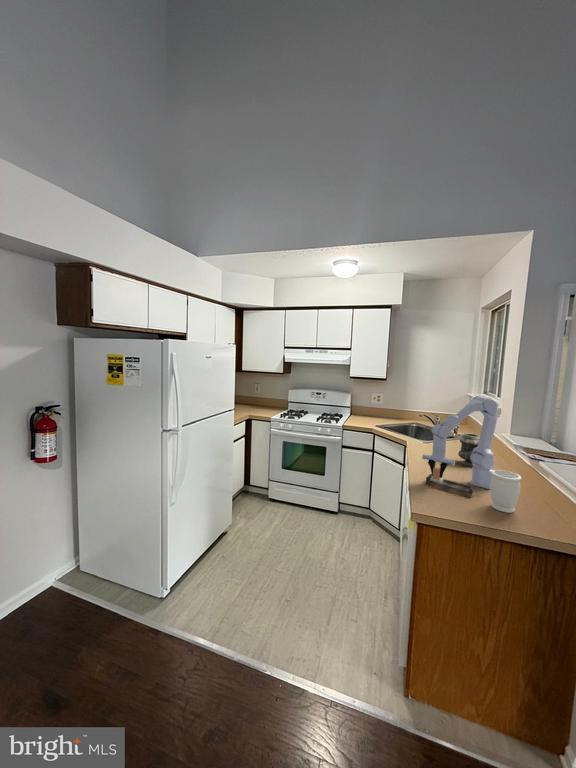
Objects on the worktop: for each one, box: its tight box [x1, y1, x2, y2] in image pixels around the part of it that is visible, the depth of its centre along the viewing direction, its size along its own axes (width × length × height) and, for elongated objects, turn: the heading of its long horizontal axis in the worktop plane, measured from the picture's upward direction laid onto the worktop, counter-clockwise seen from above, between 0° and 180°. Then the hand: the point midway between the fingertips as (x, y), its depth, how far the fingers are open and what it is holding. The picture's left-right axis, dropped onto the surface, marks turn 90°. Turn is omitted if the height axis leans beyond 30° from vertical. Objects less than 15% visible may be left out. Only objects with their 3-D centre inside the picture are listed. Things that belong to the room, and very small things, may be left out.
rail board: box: [424, 473, 476, 499], centre depth 152 cm, size 20×9×4 cm, turn 50°
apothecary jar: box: [457, 432, 480, 468], centre depth 186 cm, size 12×12×18 cm
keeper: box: [430, 466, 445, 483], centre depth 156 cm, size 5×5×6 cm
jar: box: [489, 469, 522, 514], centre depth 133 cm, size 11×10×15 cm
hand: (437, 476), depth 156 cm, fingers closed on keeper, 3 cm apart
